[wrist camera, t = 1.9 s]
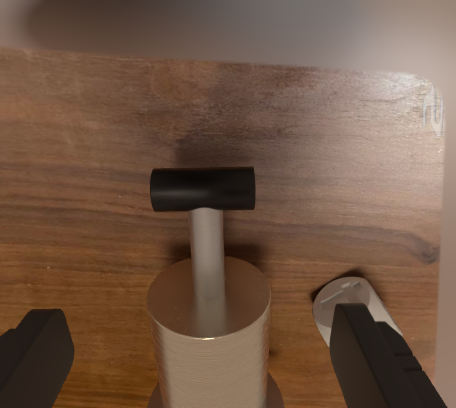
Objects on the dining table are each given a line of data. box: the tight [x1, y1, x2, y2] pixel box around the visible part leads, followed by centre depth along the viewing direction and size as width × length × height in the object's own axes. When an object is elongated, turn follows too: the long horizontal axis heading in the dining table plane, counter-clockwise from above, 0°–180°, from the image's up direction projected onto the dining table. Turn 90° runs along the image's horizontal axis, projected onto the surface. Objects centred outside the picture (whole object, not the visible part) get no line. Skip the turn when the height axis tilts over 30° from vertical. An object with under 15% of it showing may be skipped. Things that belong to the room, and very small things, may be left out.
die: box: [312, 277, 403, 346], centre depth 26 cm, size 5×5×5 cm
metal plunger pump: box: [147, 167, 284, 408], centre depth 22 cm, size 11×11×21 cm
